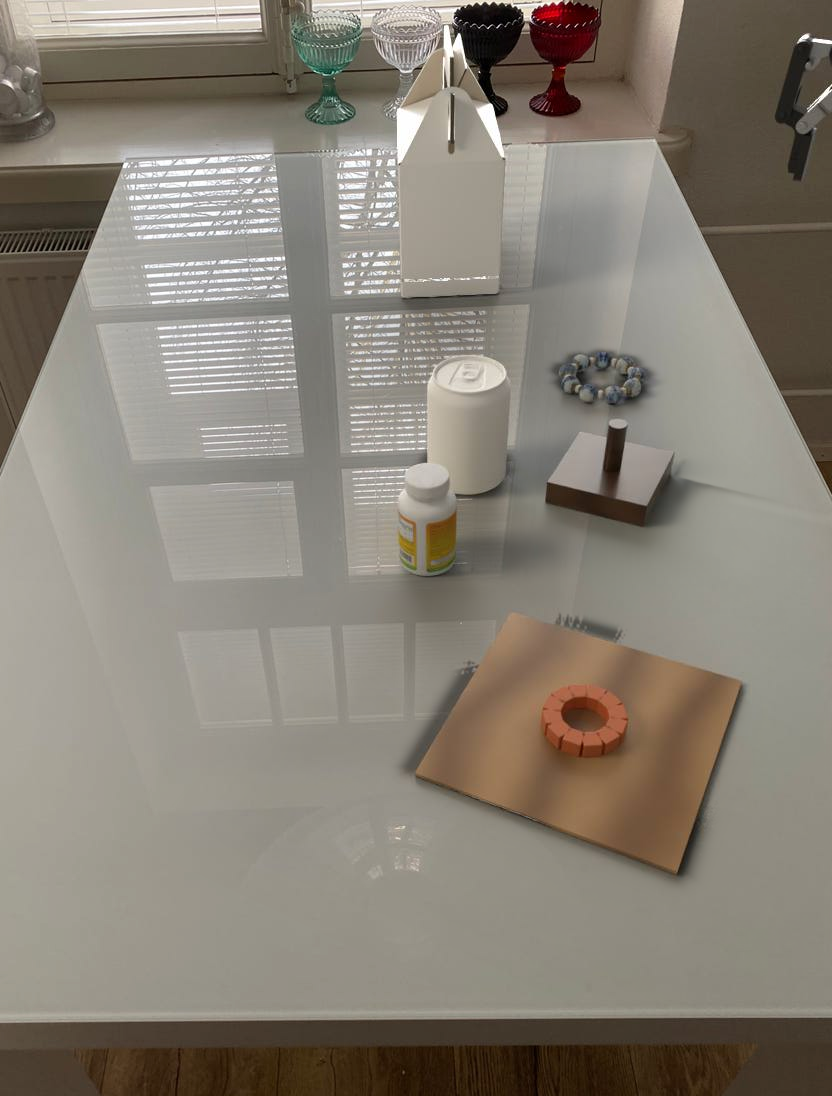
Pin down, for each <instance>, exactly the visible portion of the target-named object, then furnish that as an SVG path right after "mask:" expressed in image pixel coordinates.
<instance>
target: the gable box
mask: <svg viewBox="0 0 832 1096" xmlns="http://www.w3.org/2000/svg"><path fill="white" fill-rule="evenodd" d="M443 29H444V30H443V31H444V32H443V46H442V47H440V48H438V49H435V50H433V52H431V54H430V55H429V56H428V58H427V60H426V62H425V63H424V64H423V66H422V69H421V70H420V72H419V74H418V75H417V77H416V79H415V80H414V81H413V84H412V86H411V87H410V89H409V91H408V93H407V94H406V96H405V97H404V100H403V101H402V102H401V105H400V106H399V108H397V110H396V129H397V132H396V133H397V171H398V172H397V177H398V178H397V181H398V185H397V186H398V222H399V224H398V225H399V263H400V264H399V265H400V266H399V267H400V279H401V278H402V279H424V278H432V279H440V278H442V279H444V278H450V279H452V278H468V277H483V276H486V277H488V276H498V275H500V276H501V265H502V244H503V243H502V242H503V225H504V205H505V204H504V203H505V181H506V163H507V161H506V160H507V159H506V155H505V152H504V146H503V143H502V139H501V133H500V130H499V126H498V121H497V119H496V114H495V110H494V106H493V104H492V103H491V102H490V101H489V98H488V97H487V96H486V93H485V91H483V89H482V87H481V85H480V84H479V82H478V80H477V78H476V76H475V75H474V73H473V72H472V70H471V68H470V66H469V65H468V63H467V62H466V61H467V59H466V56H465V51H464V46H463V45H464V44H463V40H462V36H461V33H457V36H456V38H455V41H454V43H453V45H452V39H451V33H450V28H449V25H444V28H443ZM500 282H501V277H500V278H496V279H472V280H448V281H424V282H401V281H400V297H401V296H402V297H408V296H432V295H457V294H481V293H498V292H499V293H500V287H501V285H500ZM499 293H498V294H499Z"/></svg>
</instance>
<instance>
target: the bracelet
mask: <svg viewBox="0 0 832 1096" xmlns="http://www.w3.org/2000/svg"><path fill="white" fill-rule="evenodd" d="M591 366H595V367H596V368H597V369H598V368H601V369H600V370H606V369H609V367H612V368H615V369H616V371H617V373H618V374H620V373H621V374H620V375H623V374H625V375H627V380H626V381H625V382H624V383H623V386H622V387H619V386H617V385H610V386H607V387H606V388H605V389H604V390H603V389H599V390H598V389H597V387H596V386H595V385H593V384H589V383H586V384H584V385H581V384H580V380H579V379H578V377H577V376H576V375H577V372H578V371H579V372H578V373H582V372H581V371H583V372H585V371H587V370H588V368H589V367H591ZM558 376H559V379H560V380H562V381H561V389H562V391H563V392H564V393H566V392H567V393H566V394H574V393H576V394H578V395H579V399H580V401H582V402H584V401H585V402H584V403H588V402H589V403H592V402H594V401H595V400H596V399H600V400H601V399H603V400H604V401H605V402H606V403H607V404H609V403H615V404H618V403H620V401H621V400H622V397H624V396H626V395H627V396H626V397H628V396H630V397H629V398H635V397H637V396H638V395H640V393H641V391H642V385H643V384H644V382H645V380H646V372H645V369H643V368H641V367H635V362H634V360H633V359H632V358H630V357H628V356H623V357H620V358H619V359H617V358H613V357H612V355H611V353H609V352H608V351H607V352H606V351H600V352H598V353H597V354H596V355H595V356H594V357H592V356H591V357H589V356H587V355H585V354H583V353H582V354H577V355H575V356H574V357H573V358H572V361H571V363H565V364H563V365H561V367H560V368H559V372H558ZM573 392H574V393H573ZM634 396H635V397H634ZM593 400H594V401H593Z"/></svg>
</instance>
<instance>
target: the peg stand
mask: <svg viewBox="0 0 832 1096" xmlns="http://www.w3.org/2000/svg"><path fill="white" fill-rule="evenodd" d="M628 426H629V424H628V422H627V421H626V420H625V419H622V418H613V419H611V420H609V422H608V426H607V434H606V436H602V435H598V434H592V433H589V432H585V431H579V432H578V433H577V435H576V437H575V438H574V440H573V441H572V443H571V444H570V446H569V447H568V449H567V451H566V452H565V454H564V455H563V457H562V458H561V460H560V462H559V463H558V465H557V466H556V468H555V469H554V471H553V472H552V473H551V476H550V477H549V478H548V480H547V482H546V488H545V499H544V503H545V504H551V505H554V506H558V507H563V508H566V509H570V510H574V511H578V512H581V513H585V514H589V515H593V516H598V517H602V518H606V519H610V520H613V521H618V522H622V523H626V524H630V525H634V526H638V527H640V528H641V527H642V528H643V527H645V525H646V522H647V521H648V518H649V516H650V514H651V513H652V510H653V509H654V507H655V505H656V503H657V500H658V499H659V497H660V495H661V493H662V491H663V489H664V487H665V485H666V483H667V481H668V479H669V477H670V474H671V473H672V468H673V464H674V459H675V454H676V453H675V451H670V450H666V449H660V448H657V447H653V446H647V445H643V444H638V443H634V442H629V441H626V439H627V433H628V428H629V427H628Z"/></svg>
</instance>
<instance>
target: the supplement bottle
mask: <svg viewBox="0 0 832 1096" xmlns="http://www.w3.org/2000/svg"><path fill="white" fill-rule="evenodd" d="M449 486H450V475H449V472H448V470H447V469H446V468H445V467H443V466H441V465H438V464H435V463H427V462H422V463H418V464H414V465H412V466H411V467H408V469H407V470H406V471H405V473H404V488H403V489H402V490H401V491H400V493H399V495H398V498H397V532H398V556H399V557H398V558H399V562H400V564H401V566H402V567H403V568H404V570H406V571H408V572H409V573H410V574H413V575H416V576H421V577H432V576H438V575H441V574H444V573H446V572H447V571H449V570H450V569H451V568H452V567H453V565H454V564H455V561H456V557H457V521H458V520H457V517H458V516H457V515H458V514H457V513H458V502H457V501H458V500H457V497H456V494H455V493H454V492H453V491H452V490H451V489H450V488H449Z"/></svg>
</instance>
